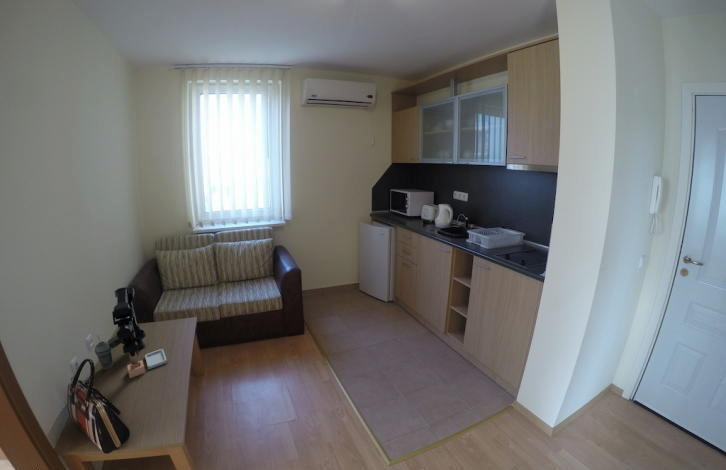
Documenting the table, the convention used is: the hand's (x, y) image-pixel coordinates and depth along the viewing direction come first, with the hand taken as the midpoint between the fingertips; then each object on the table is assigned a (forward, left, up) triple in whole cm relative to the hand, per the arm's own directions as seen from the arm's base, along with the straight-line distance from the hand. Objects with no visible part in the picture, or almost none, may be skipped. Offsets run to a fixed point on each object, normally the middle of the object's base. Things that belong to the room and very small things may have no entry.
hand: (132, 354), depth 167 cm
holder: (0, 0, -11) cm, 11 cm away
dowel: (0, 0, -5) cm, 5 cm away
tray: (-5, +10, -11) cm, 15 cm away
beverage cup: (-16, -12, -11) cm, 23 cm away
